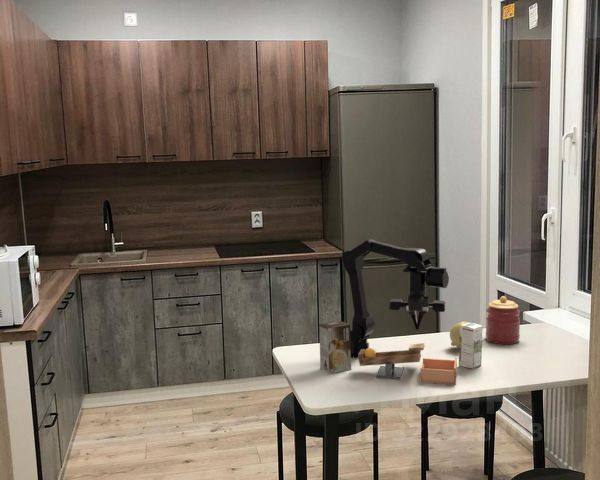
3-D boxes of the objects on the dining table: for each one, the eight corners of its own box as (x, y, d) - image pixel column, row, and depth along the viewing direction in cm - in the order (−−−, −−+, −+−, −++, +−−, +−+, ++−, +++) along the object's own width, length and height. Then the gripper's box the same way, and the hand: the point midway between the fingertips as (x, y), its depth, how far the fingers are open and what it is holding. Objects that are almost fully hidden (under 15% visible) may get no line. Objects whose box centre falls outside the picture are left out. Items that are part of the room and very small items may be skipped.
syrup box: (467, 361, 228) (467, 322, 226) (482, 365, 224) (482, 324, 222) (458, 365, 224) (458, 325, 222) (473, 369, 220) (474, 328, 218)
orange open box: (420, 382, 208) (420, 365, 208) (423, 370, 219) (423, 355, 218) (455, 384, 205) (455, 368, 205) (456, 373, 216) (456, 357, 215)
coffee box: (342, 364, 227) (341, 320, 225) (351, 369, 222) (351, 324, 220) (319, 368, 223) (318, 323, 221) (328, 374, 217) (328, 328, 215)
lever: (359, 366, 216) (357, 354, 215) (367, 351, 232) (366, 340, 231) (420, 361, 210) (419, 350, 210) (424, 347, 226) (423, 336, 225)
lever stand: (376, 378, 213) (376, 363, 212) (380, 368, 222) (380, 354, 222) (400, 379, 211) (400, 365, 210) (403, 370, 220) (403, 356, 219)
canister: (526, 342, 250) (527, 298, 248) (497, 346, 246) (498, 301, 244) (506, 334, 262) (507, 291, 260) (478, 337, 259) (479, 294, 256)
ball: (364, 362, 216) (361, 351, 216) (366, 358, 220) (363, 347, 220) (376, 360, 215) (373, 349, 215) (378, 356, 219) (375, 345, 219)
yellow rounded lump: (486, 348, 243) (486, 321, 241) (464, 354, 236) (464, 326, 235) (466, 343, 251) (466, 316, 250) (444, 348, 244) (444, 321, 243)
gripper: (387, 289, 216) (387, 334, 218) (444, 291, 211) (443, 337, 213) (391, 282, 227) (391, 325, 229) (445, 284, 222) (445, 328, 224)
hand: (417, 329), depth 223 cm, fingers closed
